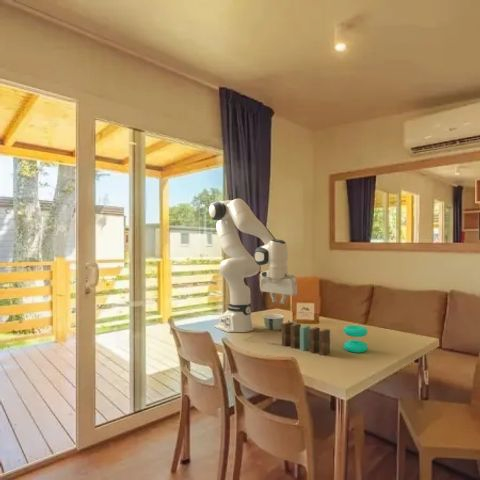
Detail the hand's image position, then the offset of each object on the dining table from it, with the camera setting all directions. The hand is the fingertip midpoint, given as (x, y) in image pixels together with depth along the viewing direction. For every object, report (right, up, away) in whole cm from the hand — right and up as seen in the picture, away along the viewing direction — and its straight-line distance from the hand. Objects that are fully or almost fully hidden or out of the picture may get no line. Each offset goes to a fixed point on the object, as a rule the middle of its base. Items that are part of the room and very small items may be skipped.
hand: (278, 302), depth 175 cm
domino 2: (+7, -19, -7) cm, 21 cm away
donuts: (+33, -19, -12) cm, 40 cm away
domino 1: (+4, -19, -4) cm, 20 cm away
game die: (+8, -19, +10) cm, 23 cm away
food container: (0, -19, +29) cm, 35 cm away
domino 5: (+18, -19, -18) cm, 31 cm away
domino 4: (+14, -19, -14) cm, 28 cm away
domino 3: (+11, -19, -11) cm, 24 cm away
